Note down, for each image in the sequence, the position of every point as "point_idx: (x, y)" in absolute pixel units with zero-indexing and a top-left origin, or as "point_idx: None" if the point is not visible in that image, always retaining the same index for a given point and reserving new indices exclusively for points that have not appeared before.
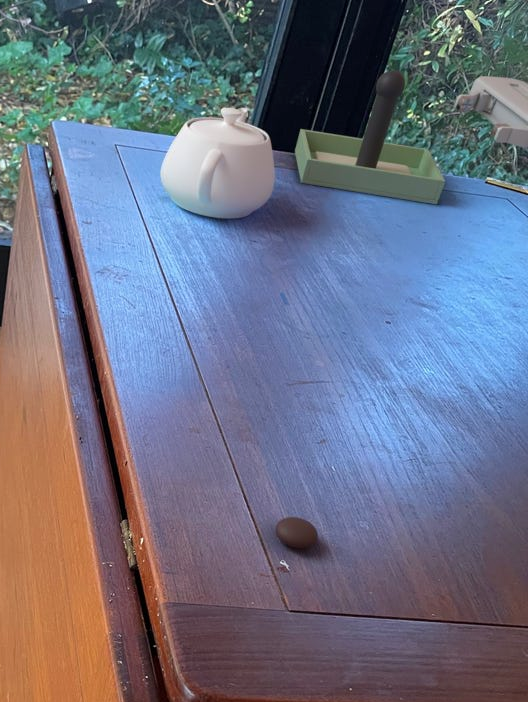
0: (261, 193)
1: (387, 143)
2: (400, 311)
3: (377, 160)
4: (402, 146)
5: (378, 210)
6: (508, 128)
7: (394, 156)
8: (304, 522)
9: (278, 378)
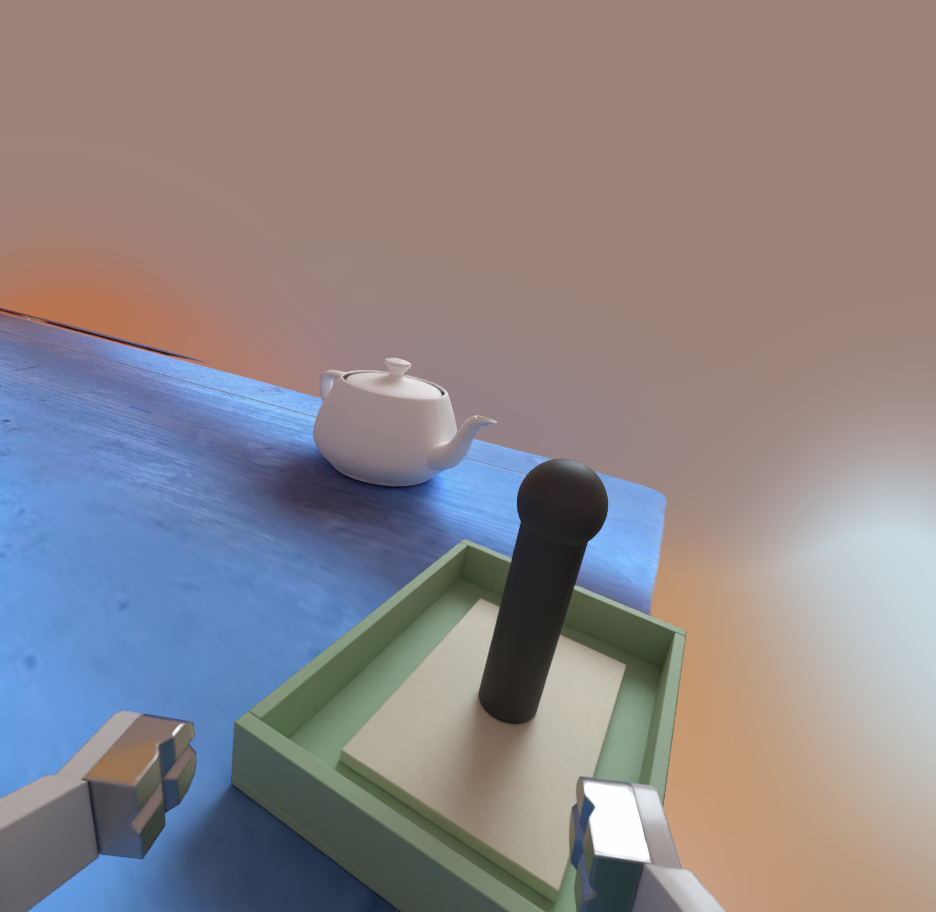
0: (314, 428)
1: None
2: (2, 436)
3: (488, 683)
4: None
5: (281, 607)
6: (82, 750)
7: None
8: None
9: (53, 366)
